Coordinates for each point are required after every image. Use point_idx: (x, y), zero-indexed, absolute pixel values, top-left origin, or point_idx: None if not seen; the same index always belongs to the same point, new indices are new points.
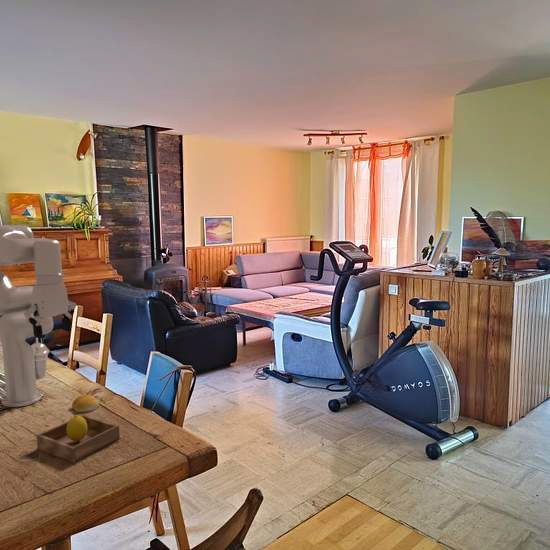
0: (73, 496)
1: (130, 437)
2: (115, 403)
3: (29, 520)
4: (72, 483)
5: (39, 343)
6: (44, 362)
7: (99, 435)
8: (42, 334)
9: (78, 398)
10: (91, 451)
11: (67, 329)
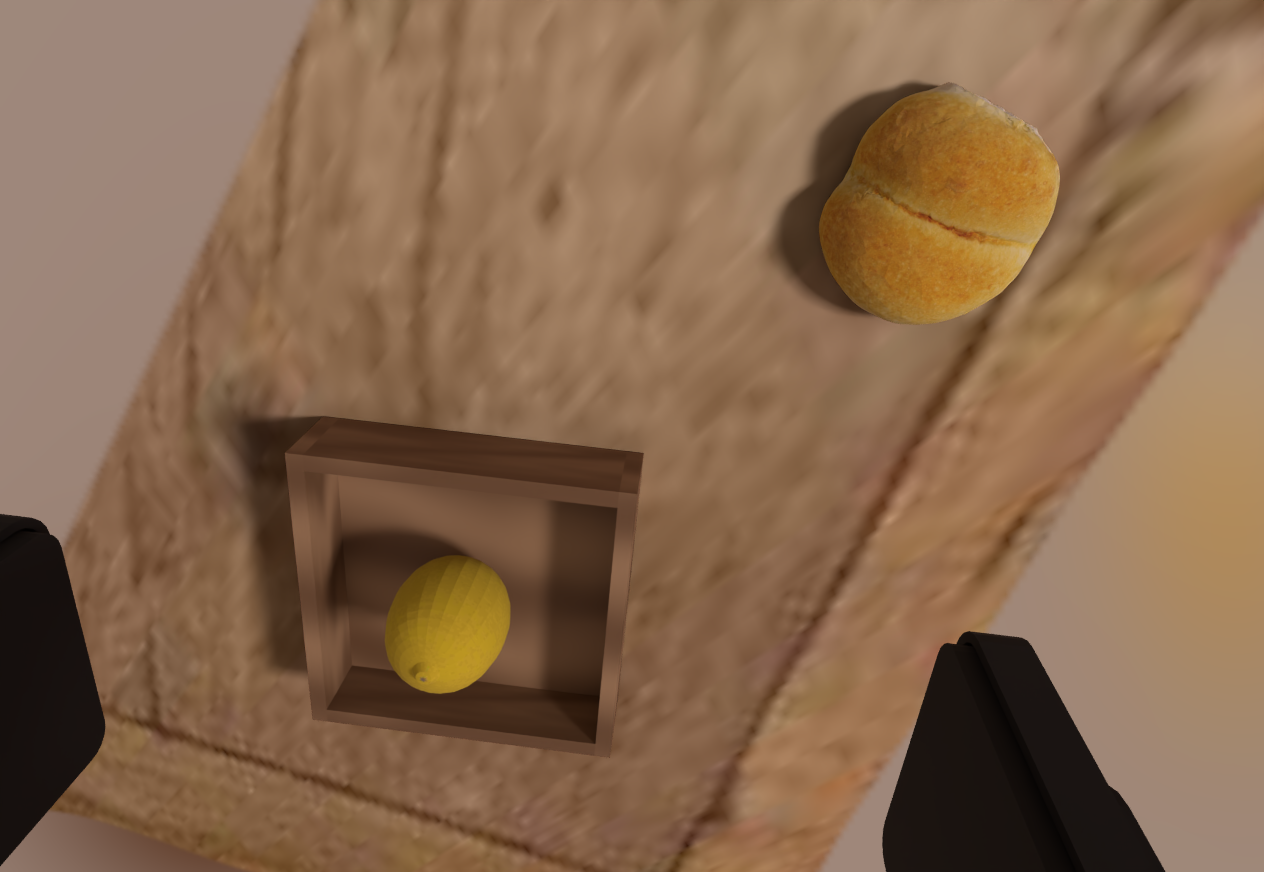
0: (204, 806)
1: (652, 734)
2: (1058, 372)
3: None
4: (248, 757)
5: None
6: None
7: (476, 740)
8: (46, 810)
9: (919, 175)
10: None
11: (898, 855)
